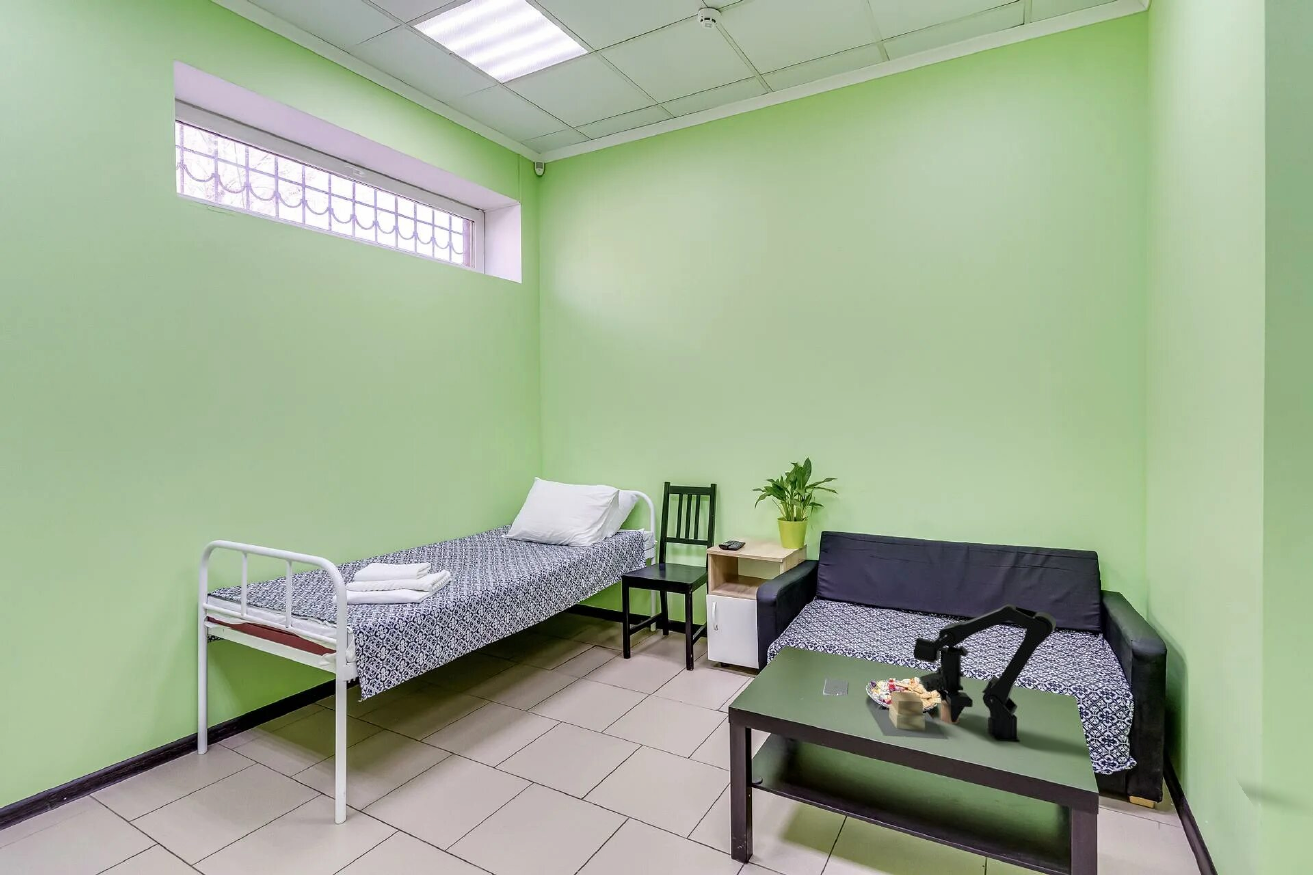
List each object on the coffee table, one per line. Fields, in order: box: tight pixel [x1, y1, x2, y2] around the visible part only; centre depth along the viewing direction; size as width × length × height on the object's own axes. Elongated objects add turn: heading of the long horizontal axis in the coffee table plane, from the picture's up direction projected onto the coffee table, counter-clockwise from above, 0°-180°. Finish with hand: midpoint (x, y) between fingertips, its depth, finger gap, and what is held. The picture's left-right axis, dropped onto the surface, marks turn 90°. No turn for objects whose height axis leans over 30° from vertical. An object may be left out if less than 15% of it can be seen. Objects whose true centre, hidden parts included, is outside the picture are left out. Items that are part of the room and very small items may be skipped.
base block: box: [888, 703, 925, 730], centre depth 188 cm, size 8×8×4 cm
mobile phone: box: [822, 678, 849, 697], centre depth 215 cm, size 8×1×15 cm
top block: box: [891, 691, 924, 716], centre depth 188 cm, size 7×7×4 cm
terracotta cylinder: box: [940, 700, 960, 725], centre depth 191 cm, size 5×5×6 cm
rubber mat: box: [868, 708, 949, 740], centre depth 188 cm, size 18×18×1 cm
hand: (950, 718), depth 191 cm, fingers closed on terracotta cylinder, 5 cm apart
